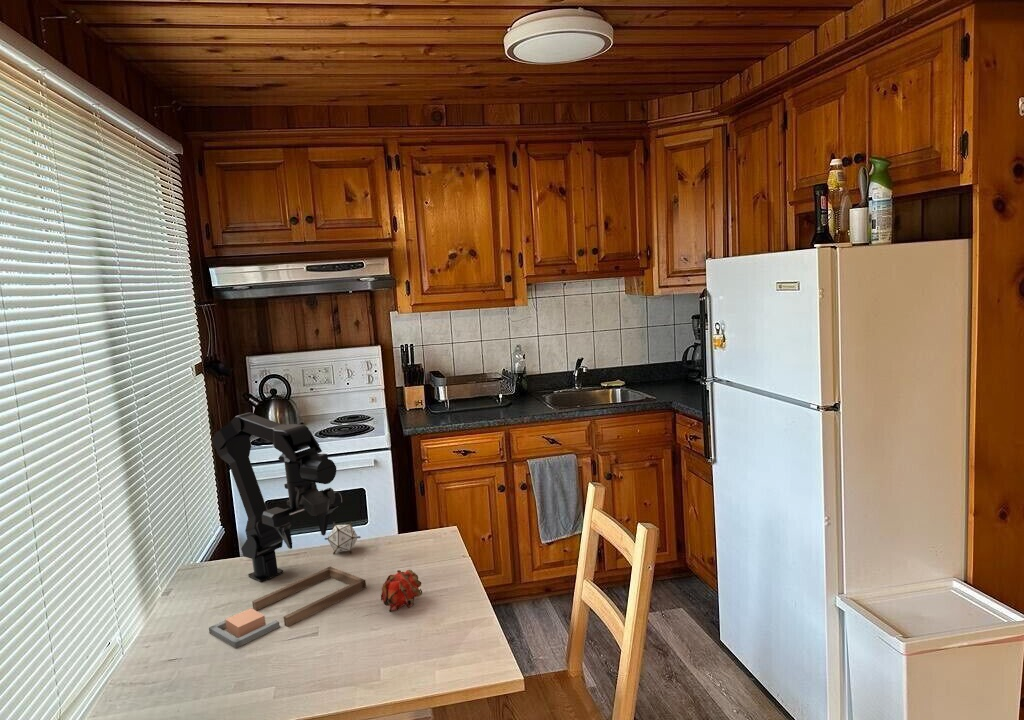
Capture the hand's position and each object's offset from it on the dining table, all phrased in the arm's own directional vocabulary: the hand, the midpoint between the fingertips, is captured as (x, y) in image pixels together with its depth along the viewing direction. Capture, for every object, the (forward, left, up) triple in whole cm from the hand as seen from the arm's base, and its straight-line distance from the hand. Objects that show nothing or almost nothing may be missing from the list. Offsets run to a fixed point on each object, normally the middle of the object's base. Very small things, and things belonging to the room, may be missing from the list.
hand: (307, 541), depth 171 cm
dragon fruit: (+26, +6, -12) cm, 29 cm away
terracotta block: (+4, -20, -12) cm, 24 cm away
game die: (-12, +18, -12) cm, 25 cm away
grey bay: (+4, -20, -12) cm, 23 cm away
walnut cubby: (+4, -4, -12) cm, 13 cm away
